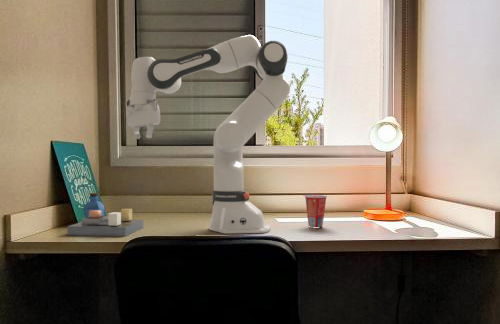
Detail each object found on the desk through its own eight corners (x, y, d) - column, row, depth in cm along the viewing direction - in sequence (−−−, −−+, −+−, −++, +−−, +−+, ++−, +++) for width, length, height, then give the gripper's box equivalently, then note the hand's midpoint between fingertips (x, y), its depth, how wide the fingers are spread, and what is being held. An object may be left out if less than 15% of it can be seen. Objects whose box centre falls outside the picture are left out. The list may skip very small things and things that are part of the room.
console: (143, 227, 137) (143, 214, 137) (125, 236, 121) (125, 221, 121) (92, 226, 139) (92, 213, 139) (67, 235, 123) (67, 220, 123)
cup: (325, 225, 143) (325, 194, 143) (328, 229, 135) (328, 197, 135) (301, 224, 144) (301, 194, 144) (302, 228, 136) (302, 196, 136)
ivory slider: (120, 224, 126) (120, 212, 126) (117, 225, 123) (117, 213, 123) (112, 223, 126) (112, 212, 126) (108, 225, 123) (108, 213, 123)
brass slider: (132, 219, 135) (132, 208, 135) (128, 220, 132) (128, 209, 132) (124, 219, 136) (124, 208, 136) (120, 220, 133) (120, 209, 133)
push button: (103, 217, 131) (103, 210, 131) (97, 219, 127) (97, 211, 127) (92, 217, 131) (92, 210, 131) (86, 218, 127) (86, 211, 127)
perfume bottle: (82, 224, 143) (82, 194, 143) (89, 222, 149) (89, 192, 149) (98, 224, 143) (98, 194, 143) (104, 222, 149) (104, 192, 149)
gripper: (164, 99, 131) (164, 137, 131) (139, 104, 146) (138, 139, 146) (148, 96, 126) (148, 136, 126) (123, 103, 141) (123, 138, 142)
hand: (142, 138), depth 136 cm, fingers open, 8 cm apart
